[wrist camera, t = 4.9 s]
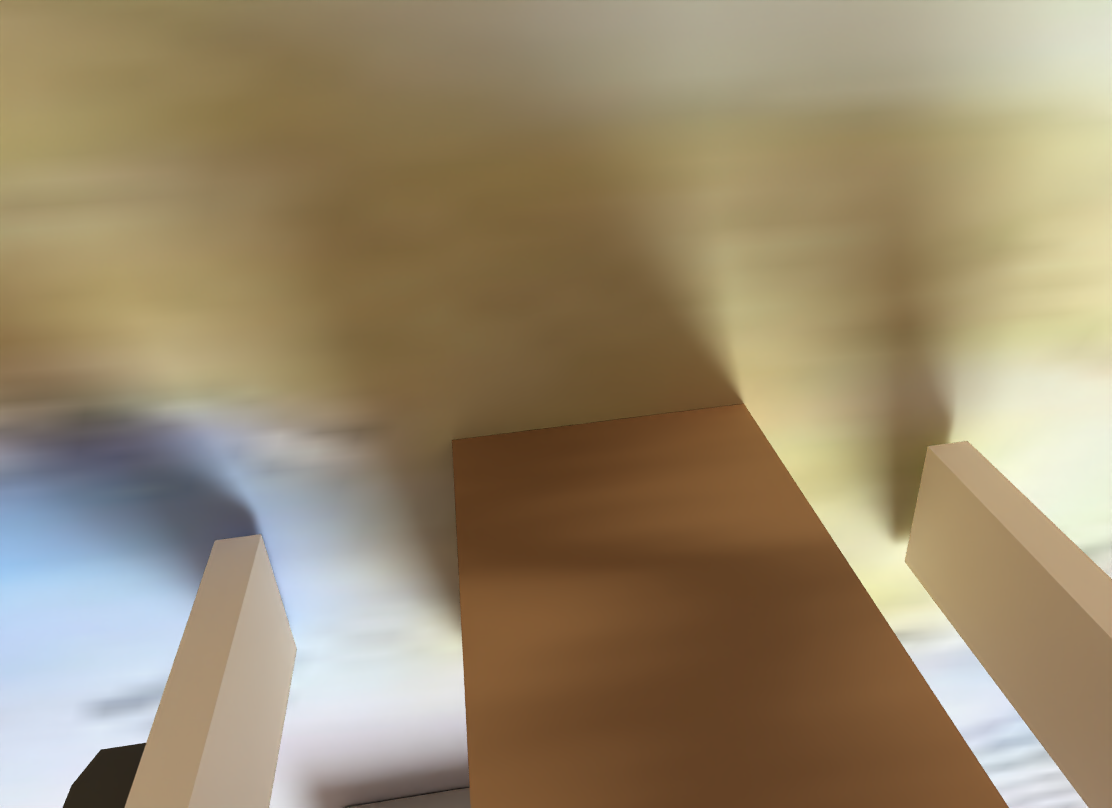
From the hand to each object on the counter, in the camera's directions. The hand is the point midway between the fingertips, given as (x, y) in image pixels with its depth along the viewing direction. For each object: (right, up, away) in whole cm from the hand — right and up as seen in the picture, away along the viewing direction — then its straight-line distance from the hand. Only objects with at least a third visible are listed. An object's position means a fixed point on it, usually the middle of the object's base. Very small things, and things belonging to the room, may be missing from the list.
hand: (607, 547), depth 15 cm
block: (0, 0, 0) cm, 0 cm away
